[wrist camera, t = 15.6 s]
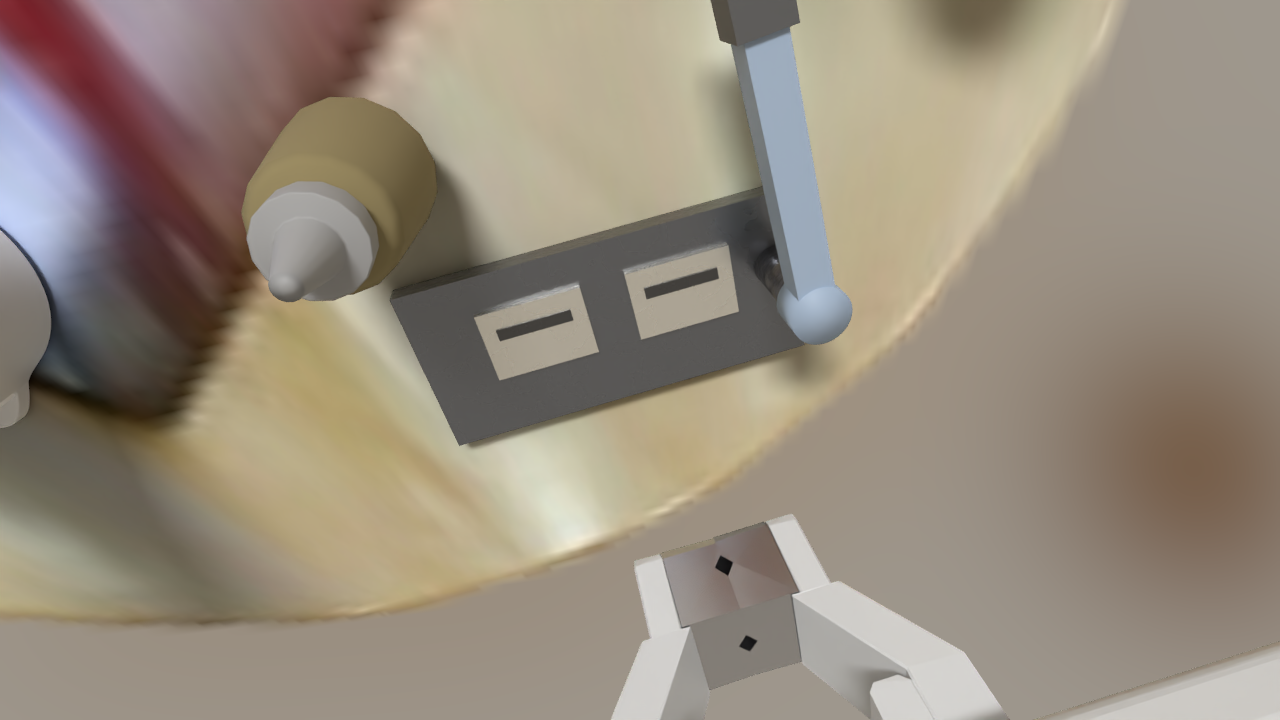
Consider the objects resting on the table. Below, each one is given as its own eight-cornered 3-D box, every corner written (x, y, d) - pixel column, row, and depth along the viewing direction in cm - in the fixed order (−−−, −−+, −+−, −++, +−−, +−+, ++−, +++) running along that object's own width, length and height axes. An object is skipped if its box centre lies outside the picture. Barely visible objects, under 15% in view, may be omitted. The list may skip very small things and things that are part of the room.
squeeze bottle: (450, 104, 38) (419, 198, 23) (434, 237, 42) (398, 396, 26) (294, 68, 36) (143, 146, 20) (291, 213, 39) (162, 370, 24)
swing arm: (836, 311, 42) (856, 332, 39) (782, 331, 42) (799, 354, 39) (766, -78, 30) (789, -82, 28) (692, -49, 30) (708, -51, 28)
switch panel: (460, 433, 49) (455, 489, 44) (392, 290, 43) (378, 336, 38) (796, 335, 50) (831, 378, 45) (779, 181, 44) (818, 211, 39)
